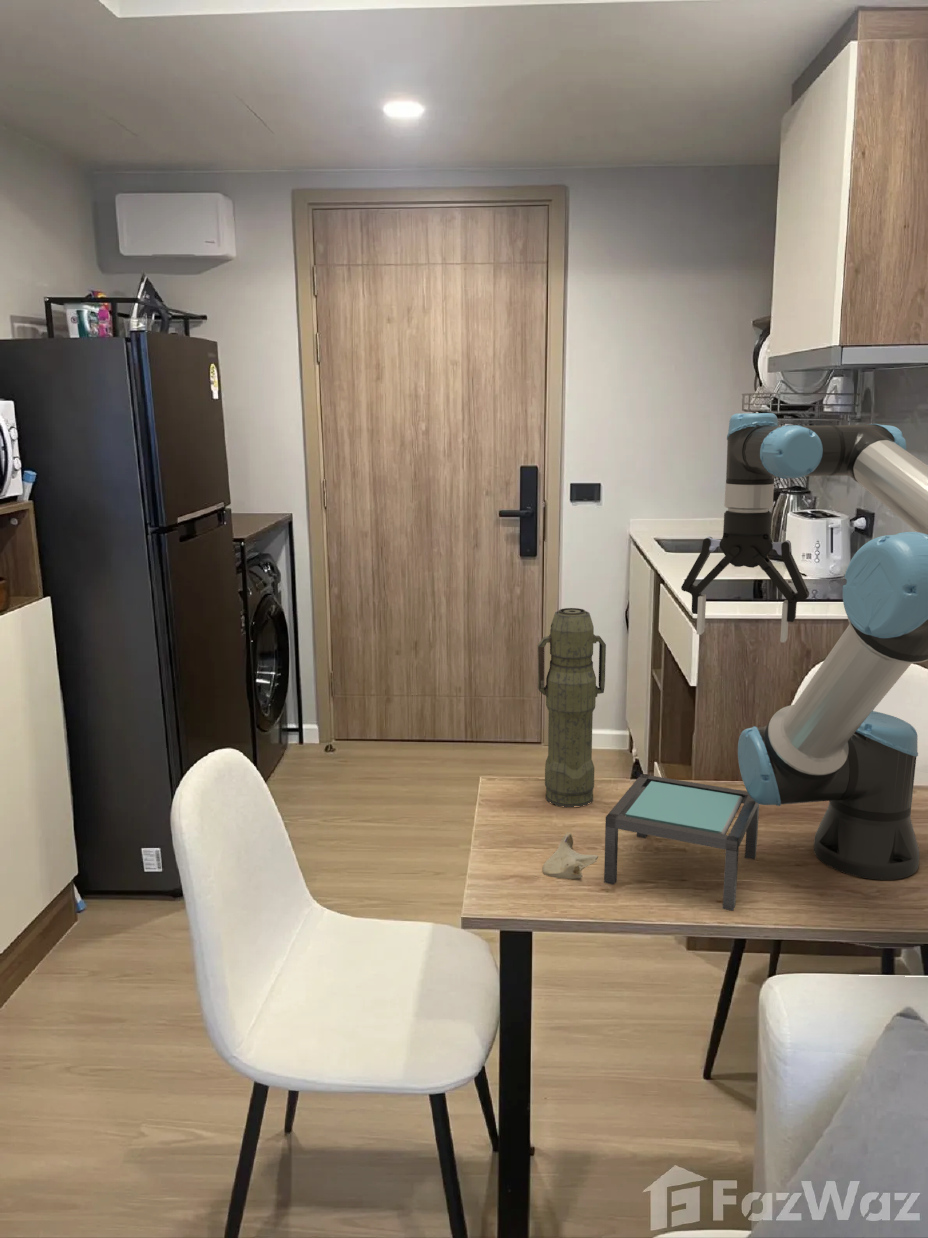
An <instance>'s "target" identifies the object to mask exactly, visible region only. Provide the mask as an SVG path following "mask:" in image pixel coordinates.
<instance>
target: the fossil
mask: <svg viewBox="0 0 928 1238" xmlns="http://www.w3.org/2000/svg"><path fill="white" fill-rule="evenodd" d="M573 845H574V839H573V835H572V833H571V832H566V833H565V834H564V835H563V836H562V838H561V841H560V843H559V845H558V847H557V849H556V850H555V852H554V853H553V854H552V855H551V856H550V857H549V858H548V859H546V861H545V862H544V864H543V865H542V873H543V874H544V875H545V876H548V877H550V878H551V877H552V878H555V879H556V878H557V879H565V880H579V879H581V878H582V877H583V876H584V875H583V873H582V870H583V869H585V868H586V867H588V866H591V865H592V864H595V863H596V862H597V859H598V854H597V855H596V854H583V853H580V852H577V851H575V850H574V849H572V848H573Z"/></svg>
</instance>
